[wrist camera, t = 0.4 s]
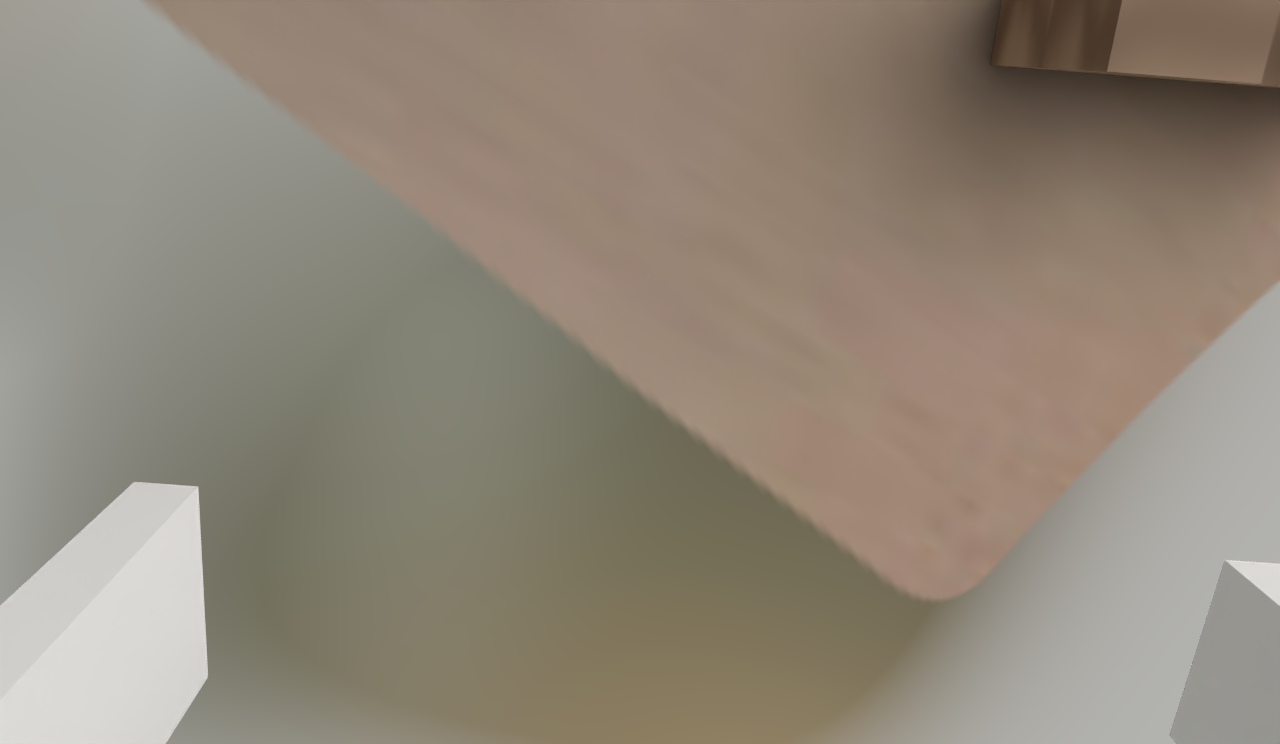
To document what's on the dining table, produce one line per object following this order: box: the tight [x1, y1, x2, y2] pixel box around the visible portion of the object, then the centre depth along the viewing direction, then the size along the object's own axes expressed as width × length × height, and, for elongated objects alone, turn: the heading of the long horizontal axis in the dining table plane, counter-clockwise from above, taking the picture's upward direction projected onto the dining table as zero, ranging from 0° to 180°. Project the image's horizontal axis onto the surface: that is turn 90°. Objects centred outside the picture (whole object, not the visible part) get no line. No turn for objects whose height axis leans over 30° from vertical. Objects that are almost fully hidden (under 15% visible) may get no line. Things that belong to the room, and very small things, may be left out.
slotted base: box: [990, 0, 1280, 88], centre depth 32 cm, size 3×14×9 cm, turn 86°
